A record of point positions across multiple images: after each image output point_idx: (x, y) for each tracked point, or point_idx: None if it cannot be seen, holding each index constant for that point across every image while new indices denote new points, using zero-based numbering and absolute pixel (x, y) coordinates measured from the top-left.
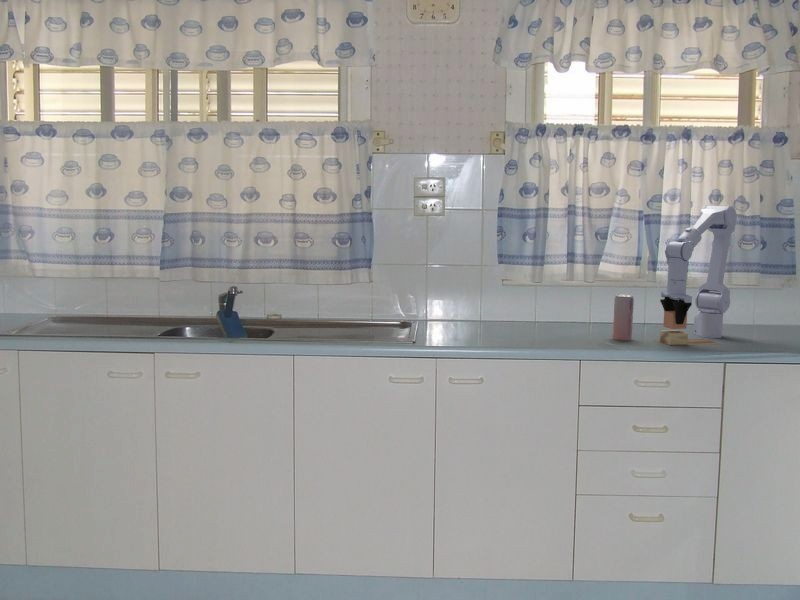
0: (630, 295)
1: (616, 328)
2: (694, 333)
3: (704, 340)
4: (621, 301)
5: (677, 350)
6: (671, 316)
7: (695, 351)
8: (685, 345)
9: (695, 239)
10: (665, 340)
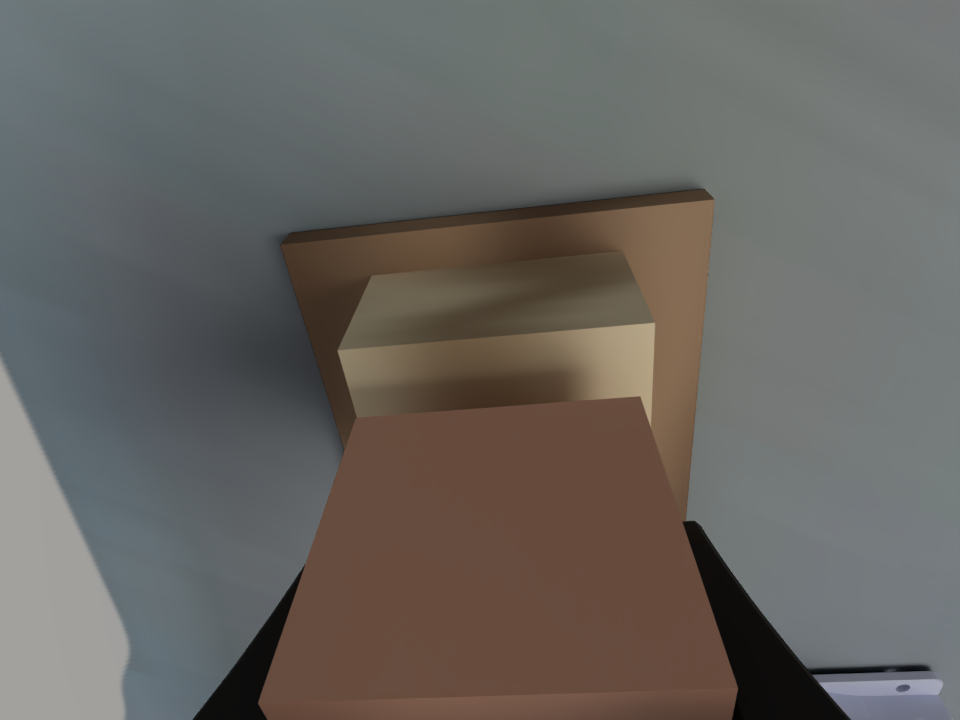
0: None
1: None
2: (920, 704)
3: None
4: None
5: (163, 253)
6: (344, 607)
7: (148, 405)
8: (333, 414)
9: None
10: (487, 279)
